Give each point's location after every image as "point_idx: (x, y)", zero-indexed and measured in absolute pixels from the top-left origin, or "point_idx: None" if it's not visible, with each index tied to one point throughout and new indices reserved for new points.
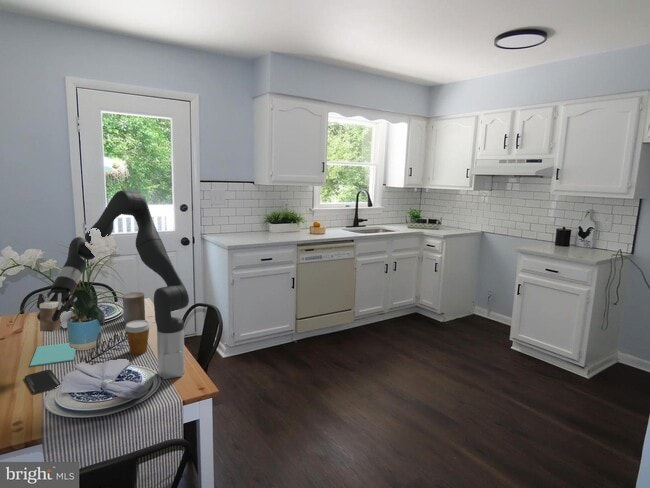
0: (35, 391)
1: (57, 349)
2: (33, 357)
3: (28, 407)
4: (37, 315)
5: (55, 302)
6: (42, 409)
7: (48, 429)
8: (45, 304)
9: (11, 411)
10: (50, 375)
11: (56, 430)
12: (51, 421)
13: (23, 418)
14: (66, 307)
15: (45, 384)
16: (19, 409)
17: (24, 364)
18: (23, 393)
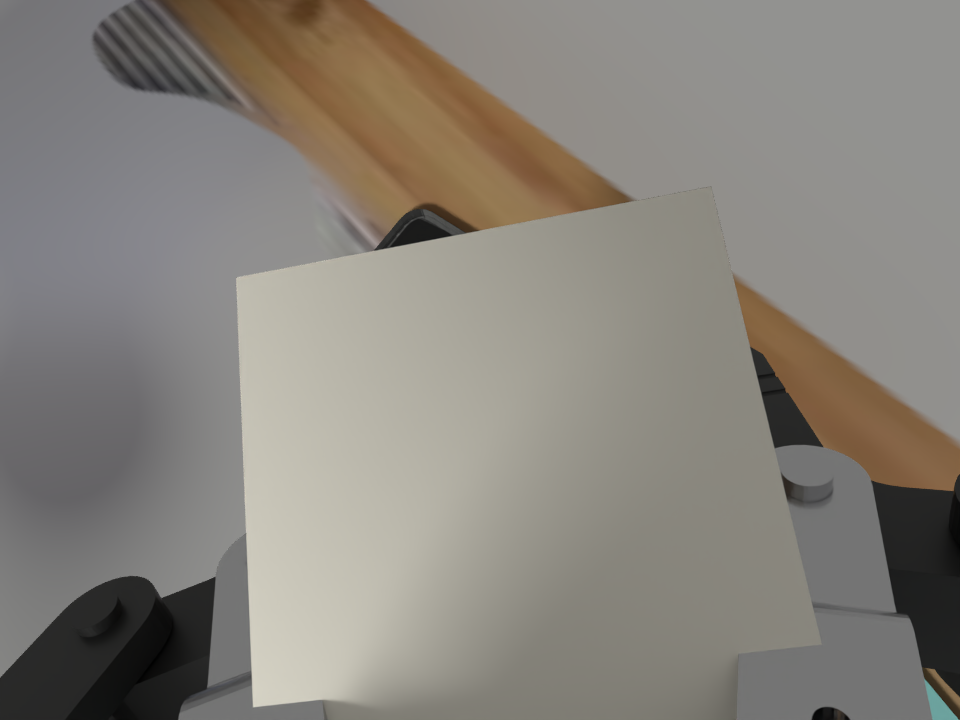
0: (415, 211)
1: None
2: (938, 702)
3: (351, 107)
4: (767, 362)
5: (340, 601)
6: (270, 114)
7: (148, 17)
8: (479, 233)
9: (407, 60)
10: None
11: (113, 22)
12: (169, 59)
13: (306, 39)
14: (66, 639)
15: None
16: (382, 83)
17: None
18: (490, 201)
